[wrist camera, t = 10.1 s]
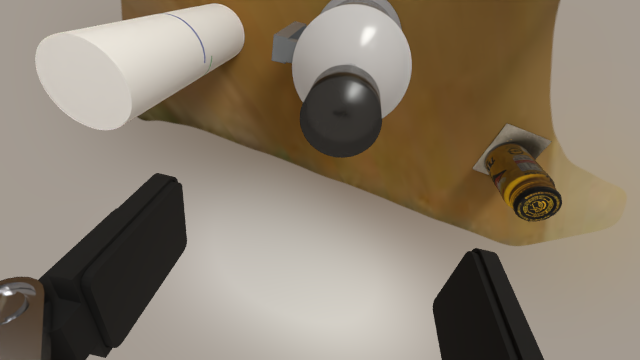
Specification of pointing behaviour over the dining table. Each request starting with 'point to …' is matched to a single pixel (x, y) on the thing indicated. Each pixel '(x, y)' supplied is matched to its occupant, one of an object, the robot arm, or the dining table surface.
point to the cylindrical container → (134, 62)
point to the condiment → (521, 173)
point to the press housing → (349, 47)
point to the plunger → (342, 111)
